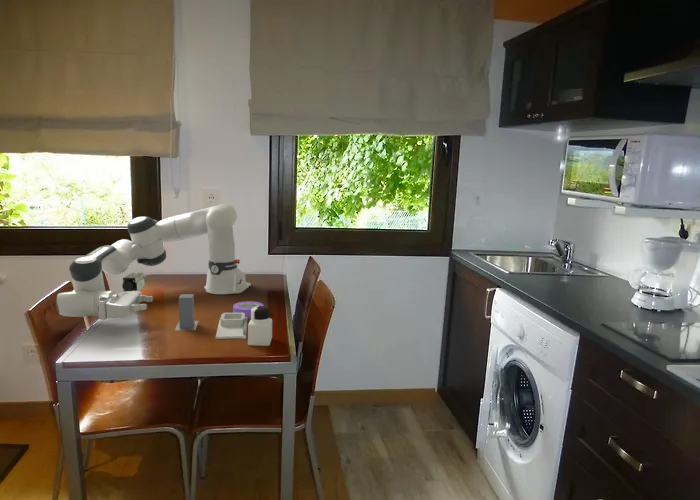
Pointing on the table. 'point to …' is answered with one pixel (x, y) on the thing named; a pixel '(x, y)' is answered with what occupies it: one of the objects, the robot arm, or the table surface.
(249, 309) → the masking tape
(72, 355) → the table surface
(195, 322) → the grey rectangular plate
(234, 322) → the holder
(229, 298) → the table surface
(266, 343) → the medicine bottle
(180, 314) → the clip
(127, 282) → the pneumatic valve
